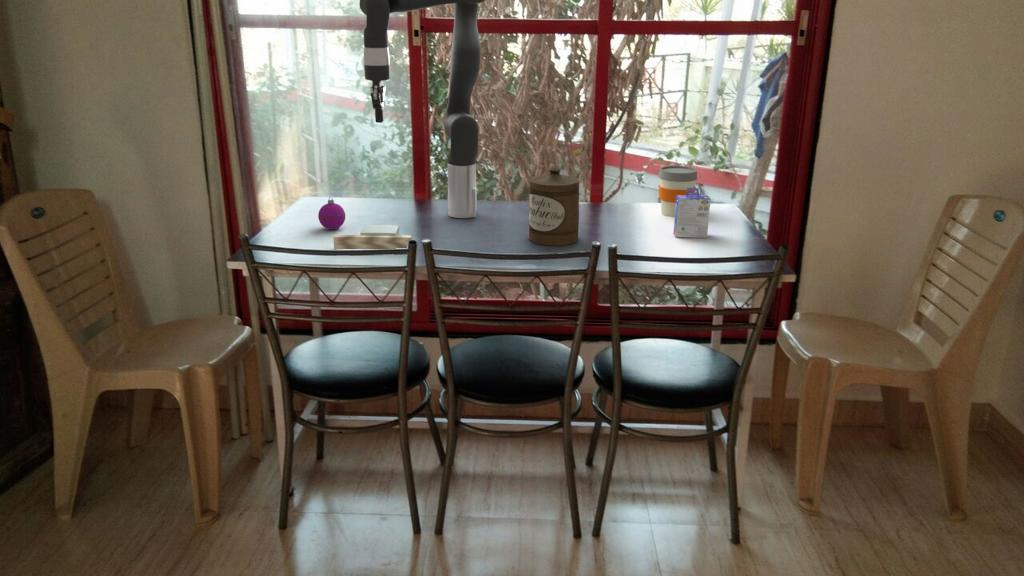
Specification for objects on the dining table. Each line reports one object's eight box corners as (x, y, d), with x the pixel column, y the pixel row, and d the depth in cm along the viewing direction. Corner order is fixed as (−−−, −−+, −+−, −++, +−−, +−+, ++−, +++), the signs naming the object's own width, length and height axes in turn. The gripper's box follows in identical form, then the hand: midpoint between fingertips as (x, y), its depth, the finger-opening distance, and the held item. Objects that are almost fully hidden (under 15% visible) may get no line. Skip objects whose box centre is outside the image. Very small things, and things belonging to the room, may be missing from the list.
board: (412, 248, 239) (411, 235, 238) (411, 251, 237) (410, 237, 236) (335, 248, 239) (334, 234, 238) (334, 250, 237) (333, 236, 236)
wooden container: (518, 239, 250) (519, 166, 242) (549, 229, 260) (551, 159, 253) (557, 249, 241) (559, 174, 233) (587, 238, 251) (591, 166, 244)
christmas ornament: (316, 232, 254) (313, 200, 251) (323, 225, 262) (321, 193, 259) (342, 232, 254) (340, 200, 251) (348, 225, 262) (347, 194, 258)
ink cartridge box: (704, 233, 258) (708, 187, 253) (708, 238, 252) (712, 191, 247) (672, 232, 258) (675, 186, 253) (675, 238, 252) (679, 191, 247)
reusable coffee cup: (648, 212, 280) (651, 168, 275) (673, 207, 288) (677, 164, 283) (676, 220, 271) (679, 175, 266) (701, 214, 278) (705, 170, 273)
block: (399, 241, 247) (399, 225, 245) (396, 249, 239) (395, 233, 238) (365, 241, 247) (365, 224, 245) (361, 249, 239) (360, 232, 238)
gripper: (386, 65, 241) (388, 125, 246) (392, 61, 253) (394, 119, 259) (360, 65, 241) (363, 125, 246) (368, 61, 253) (370, 118, 259)
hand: (379, 122), depth 253 cm, fingers closed
